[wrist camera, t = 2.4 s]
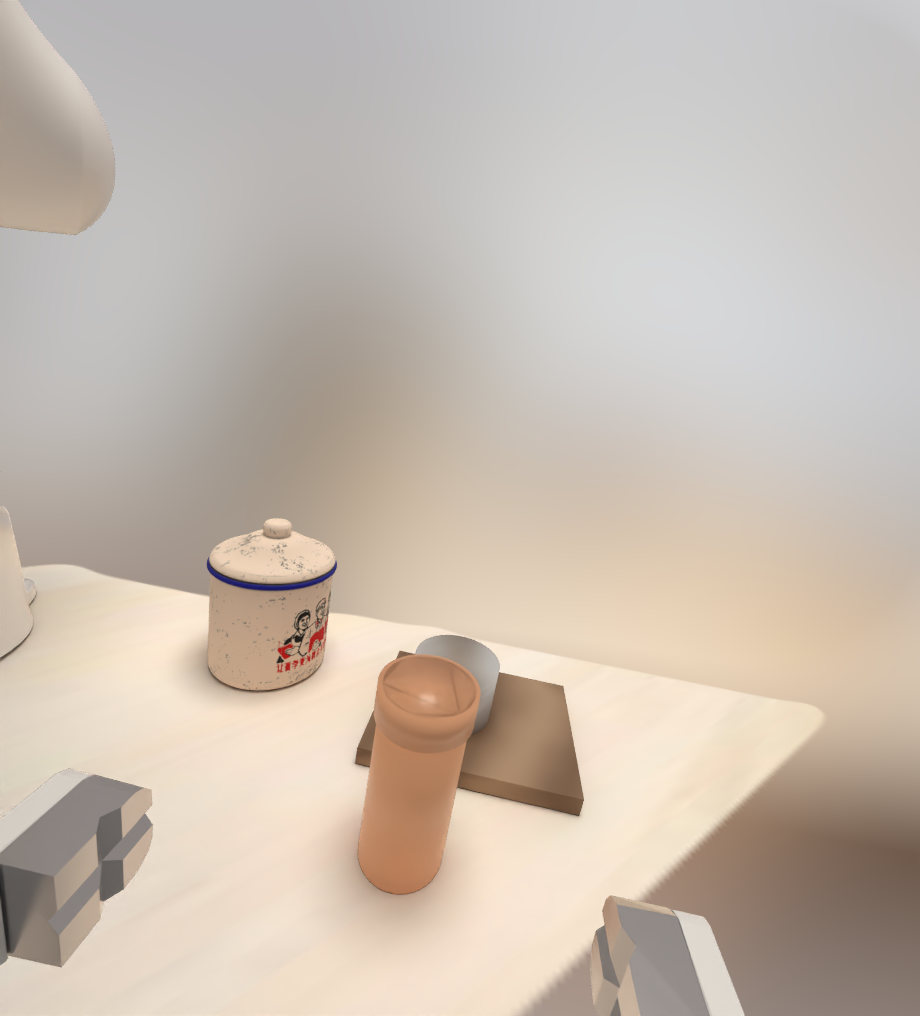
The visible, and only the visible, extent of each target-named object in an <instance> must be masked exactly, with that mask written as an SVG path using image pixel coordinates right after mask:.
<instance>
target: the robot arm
mask: <svg viewBox="0 0 920 1016" xmlns="http://www.w3.org/2000/svg"><path fill="white" fill-rule="evenodd" d="M114 183H115V158H114V153H113V147H112V143H111V139H110V136H109V133H108V130H107V127H106V125H105V122H104V120H103V118H102V115H101V113H100V111H99V109H98V107H97V106H96V104H95V102H94V100H93V98H92V97H91V95H90V93H89V92H88V90H87V89H86V87H85V86H84V84H83V83H82V81H81V80H80V79H79V77H78V76H77V75H76V73H75V72H74V71H73V69H72V68H71V67H70V66H69V65H68V64H67V63H66V62H65V61H64V60H63V59H62V57H61V56H60V55H59V54H58V53H57V52H56V51H55V49H54V48H53V47H52V46H51V44H50V43H49V42H48V41H47V39H46V38H45V37H44V36H43V34H41V32H40V30H39V29H38V28H37V27H36V25H35V24H34V23H33V21H32V20H31V18H30V17H29V15H28V14H27V12H26V11H25V10H24V8H23V7H22V5H21V4H20V2H19V1H18V0H0V227H5V228H13V229H20V230H28V231H39V232H48V233H59V234H70V235H76V234H78V233H80V232H82V231H84V230H86V229H87V228H88V227H90V226H91V225H93V224H94V223H95V221H97V220H98V218H100V216H101V215H102V214H103V212H104V211H105V209H106V208H107V206H108V203H109V201H110V199H111V196H112V193H113V189H114ZM36 593H37V591H36V587H35V583H34V582H33V581H32V580H29V579H24V578H23V573H22V568H21V565H20V560H19V555H18V551H17V546H16V542H15V537H14V534H13V529H12V525H11V521H10V517H9V513H8V511H7V510H6V508H5V507H3V506H1V505H0V657H2V656H3V655H5V654H7V653H8V652H9V651H11V650H12V649H14V648H15V647H16V646H17V645H19V644H20V643H21V642H22V641H23V640H24V639H25V638H26V637H27V635H28V634H29V633H30V631H31V629H32V626H33V616H32V614H31V611H30V609H29V604H30V603H31V601H32V600H33V599H34V597H35V596H36ZM151 806H152V793H151V790H150V789H147V788H143V787H139V786H135V785H132V784H128V783H124V782H120V781H117V780H113V779H109V778H105V777H102V776H98V775H94V774H90V773H86V772H82V771H78V770H74V769H70V768H68V769H66V770H64V771H62V772H59V773H57V774H55V775H54V776H53V777H51V778H50V779H49V780H48V781H46V782H45V783H44V784H43V785H42V786H40V787H39V788H38V789H37V790H35V791H34V792H33V793H32V794H30V795H29V796H28V797H27V798H26V799H24V800H23V801H22V802H21V803H19V804H18V805H17V806H16V807H14V808H13V809H12V810H11V811H10V812H8V813H7V814H6V815H5V816H3V817H2V818H1V819H0V965H1V964H2V963H4V962H5V961H7V959H8V956H12V957H17V958H21V959H26V960H30V961H35V962H39V963H44V964H48V965H53V966H57V967H62V966H63V965H64V964H65V962H66V961H67V960H68V959H69V957H70V956H71V955H72V954H73V952H74V951H75V950H76V949H77V947H78V946H79V945H80V944H81V942H82V941H83V940H84V939H85V937H86V936H87V935H88V934H89V932H90V931H91V930H92V929H93V927H94V926H95V925H96V924H97V922H98V921H99V920H100V918H101V912H102V907H103V901H105V900H107V899H108V898H110V897H112V896H113V895H115V894H117V893H118V892H120V891H121V890H123V889H124V888H125V887H126V886H127V884H128V883H129V882H130V880H131V879H132V878H133V876H134V875H135V874H136V873H137V871H138V870H139V868H140V866H141V864H142V862H143V860H144V858H145V856H146V854H147V852H148V851H149V847H150V843H151V839H152V831H153V825H152V823H151V822H150V820H149V819H148V817H147V816H146V814H145V812H146V811H147V810H148V809H149V808H150V807H151ZM602 912H603V918H604V924H605V925H604V926H603V927H601V928H599V929H598V930H596V933H595V936H594V940H593V944H592V951H591V966H590V968H591V986H592V993H593V1002H594V1007H595V1009H596V1011H597V1012H598V1014H599V1016H745V1014H744V1012H743V1009H742V1007H741V1004H740V1002H739V999H738V996H737V994H736V991H735V989H734V986H733V984H732V981H731V978H730V976H729V973H728V971H727V968H726V966H725V963H724V960H723V958H722V955H721V953H720V950H719V948H718V945H717V943H716V940H715V937H714V935H713V932H712V930H711V927H710V925H709V924H708V922H707V921H706V920H705V918H704V917H701V916H698V915H693V914H689V913H685V912H680V911H675V910H670V909H669V908H667V907H662V906H657V905H653V904H648V903H644V902H639V901H634V900H630V899H625V898H620V897H616V896H611V895H610V896H609V897H608V898H607V899H606V901H605V904H604V907H603V910H602ZM7 955H8V956H7Z"/></svg>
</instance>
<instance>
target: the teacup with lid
mask: <svg viewBox="0 0 920 1016" xmlns="http://www.w3.org/2000/svg"><path fill="white" fill-rule="evenodd" d="M336 567H337V562H336V559H335V555H334V554H333V552H332V551H331V549H330V548H329V547H328V546H326V545H325V544H323V543H321V542H319V541H317V540H315V539H312V538H308V537H304V536H303V535H301V534H299V533H297V532H294V531H292V525H291V523H290V522H289V521H287V520H285V519H269V520H267V521H266V522H265V523H264V524H263V530H258V531H256V532H252V533H250V534H247V535H242V536H237V537H234V538H231V539H228V540H226V541H224V542H222V543H220V544H219V545H217V546H216V547H215V548H214V549H213V550H212V552H211V554H210V556H209V558H208V560H207V568H208V570H209V572H210V601H209V632H208V666H209V669H210V671H211V672H212V674H213V675H214V676H215V677H216V678H217V679H219V680H220V681H222V682H223V683H225V684H227V685H230V686H232V687H236V688H240V689H246V690H271V689H277V688H282V687H286V686H289V685H292V684H295V683H297V682H299V681H301V680H303V679H305V678H306V677H308V676H309V675H311V674H312V673H313V672H314V671H315V670H316V669H317V668H318V667H319V665H320V664H321V662H322V660H323V657H324V651H325V641H326V632H327V622H328V613H329V604H330V594H331V584H332V576H333V573H334V572H335V570H336Z"/></svg>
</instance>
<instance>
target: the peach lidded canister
mask: <svg viewBox="0 0 920 1016" xmlns="http://www.w3.org/2000/svg"><path fill="white" fill-rule="evenodd" d="M480 696H481V691H480V687H479V684H478V682H477V680H476V678H475V677H474V676H473V675H472V674H471V673H470V672H469V671H468V670H467V669H466V668H464V667H463V666H461V665H460V664H458V663H456V662H454V661H452V660H449V659H446V658H443V657H439V656H434V655H426V654H417V655H408V656H404V657H401V658H398V659H396V660H393V661H392V662H390V663H389V664H387V665H386V666H385V667H384V668H383V670H382V671H381V673H380V675H379V678H378V685H377V692H376V699H375V706H374V719H375V722H376V728H375V735H374V742H373V749H372V756H371V763H370V769H369V776H368V783H367V790H366V797H365V804H364V810H363V817H362V824H361V831H360V838H359V845H358V859H359V863H360V867H361V869H362V871H363V873H364V875H365V876H366V878H367V879H368V880H369V881H370V882H371V883H372V884H373V885H374V886H376V887H377V888H379V889H381V890H383V891H385V892H388V893H392V894H409V893H412V892H415V891H418V890H420V889H422V888H423V887H425V886H426V885H427V884H429V883H430V882H431V880H432V879H433V878H434V877H435V875H436V874H437V872H438V870H439V868H440V865H441V861H442V856H443V851H444V847H445V842H446V837H447V832H448V828H449V823H450V818H451V813H452V808H453V804H454V799H455V794H456V789H457V785H458V780H459V775H460V770H461V766H462V761H463V756H464V751H465V746H466V742H467V739H468V738H469V737H470V735H471V734H472V732H473V729H474V724H475V720H476V715H477V710H478V706H479V701H480Z"/></svg>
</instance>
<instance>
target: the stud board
mask: <svg viewBox="0 0 920 1016" xmlns="http://www.w3.org/2000/svg"><path fill="white" fill-rule="evenodd" d="M417 654H426V655H434V656H439V657H443V658H446V659H449V660H452V661H454V662H456V663H458V664H460V665H461V666H463V667H464V668H466V669H467V670H468V671H469V672H470V673H471V674H472V675H473V676H474V677H475V678H476V680H477V682H478V684H479V687H480V691H481V696H480V701H479V706H478V710H477V715H476V720H475V724H474V729H473V732H472V734H471V735H470V737H469V738H468V739H467V742H466V746H465V751H464V756H463V761H462V766H461V770H460V775H459V780H458V785H457V787H459V788H463V789H468V790H472V791H476V792H480V793H485V794H489V795H493V796H498V797H502V798H506V799H510V800H515V801H519V802H523V803H528V804H532V805H536V806H540V807H545V808H549V809H553V810H558V811H562V812H566V813H570V814H575V815H580V811H581V808H582V805H583V801H584V797H583V792H582V786H581V781H580V776H579V770H578V765H577V759H576V754H575V748H574V743H573V737H572V732H571V726H570V721H569V715H568V710H567V704H566V699H565V693H564V688H563V686H560V685H556V684H551V683H546V682H542V681H537V680H532V679H528V678H523V677H519V676H514V675H509V674H505V673H500V672H499V669H500V664H499V661H498V659H497V657H496V655H495V654H494V653H493V652H492V651H491V650H490V649H489V648H487V647H486V646H484V645H483V644H481V643H479V642H477V641H475V640H472V639H469V638H466V637H461V636H455V635H440V636H435V637H431V638H428V639H426V640H424V641H423V642H422V643H421V644H420V645H419V646H418V647H417V649H416V653H415V654H412V653H407V652H403V651H399V654H398V656H397V658H396V659H398V658H401V657H404V656H408V655H417ZM375 728H376V722H375V719H374V711H373V713H372V715H371V718H370V720H369V722H368V725H367V727H366V729H365V731H364V734H363V736H362V738H361V741H360V743H359V745H358V748H357V755H356V762H355V763H356V764H361V765H365V766H369V767H370V763H371V756H372V749H373V742H374V735H375Z"/></svg>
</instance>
